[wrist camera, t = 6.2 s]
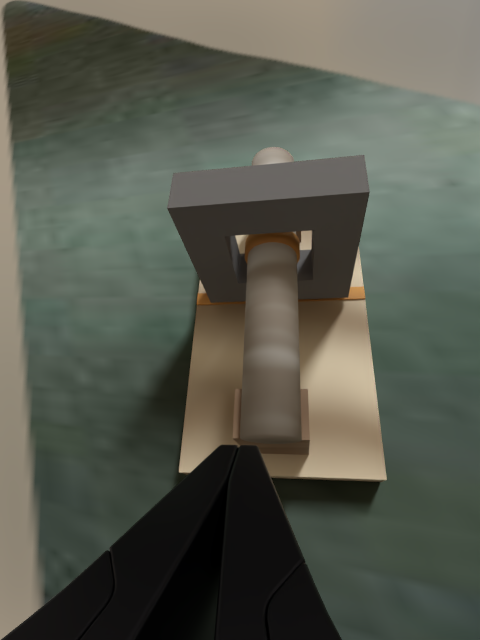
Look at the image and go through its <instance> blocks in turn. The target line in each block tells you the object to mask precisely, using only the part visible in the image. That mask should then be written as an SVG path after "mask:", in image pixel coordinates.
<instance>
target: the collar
mask: <svg viewBox="0 0 480 640" xmlns="http://www.w3.org/2000/svg"><path fill="white" fill-rule="evenodd" d="M369 192H370V191H369V185H368V178H367V171H366V164H365V158H364V155H359V156H348V157H338V158H327V159H317V160H306V161H296V162H286V163H275V164H265V165H254V166H244V167H233V168H223V169H212V170H202V171H192V172H181V173H173V178H172V184H171V190H170V195H169V201H168V207H167V209H168V211H169V213H170V215H171V217H172V219H173V222H174V224H175V226H176V228H177V230H178V232H179V235H180V237H181V239H182V241H183V243H184V246H185V248H186V250H187V252H188V254H189V256H190V259H191V261H192V263H193V265H194V267H195V269H196V272H197V274H198V276H199V278H200V280H201V283H202V285H203V287H204V289H205V291H206V293H207V296H208V298H209V300H210V302H211V303H216V302H243V301H246V284H247V263H246V261H245V253H242V254H240V252H239V248H238V244H237V240H236V235H251V234H266V233H281V232H296V231H311V230H312V245H311V250H300V259H299V261H298V263H297V282H298V299H323V298H348V296H349V291H350V286H351V281H352V276H353V271H354V266H355V261H356V256H357V251H358V247H359V242H360V237H361V232H362V227H363V222H364V217H365V212H366V207H367V202H368V197H369Z"/></svg>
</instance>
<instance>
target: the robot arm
mask: <svg viewBox="0 0 480 640" xmlns="http://www.w3.org/2000/svg"><path fill="white" fill-rule="evenodd" d="M109 550H110V552H109V551H108V550H107V551H105V552H104V553H103V554H102V555H101V556H100V557H99V558H98V559H97V560H95V561H94V562H93V563H92V564H91V565H90V566H89V567H88V568H87V569H86V570H84V571H83V572H82V573H81V574H80V575H79V576H78V577H77V578H75V579H74V580H73V581H72V582H71V583H70V584H69V585H68V586H66V587H65V588H64V589H63V590H62V591H61V592H59V593H58V594H57V595H56V596H55V597H53V598H52V599H51V600H50V601H48V602H47V603H46V604H45V605H44V606H42V607H41V608H40V609H39V610H38V611H36V612H35V613H34V614H33V615H31V616H30V617H29V618H28V619H27V620H25V621H24V622H23V623H21V624H20V625H19V626H18V627H16V628H15V629H14V630H13V631H11V632H10V633H9V634H8V635H6V636H5V637H4V638H3V639H1V640H342V639H341V637H340V635H339V633H338V631H337V629H336V628H335V626H334V624H333V622H332V620H331V618H330V616H329V614H328V612H327V610H326V608H325V605H324V603H323V601H322V599H321V597H320V594H319V592H318V590H317V588H316V586H315V583H314V581H313V578H312V576H311V574H310V571H309V569H308V566H307V565H306V564H305V560H304V557H303V555H302V552H301V550H300V547H299V545H298V542H297V540H296V538H295V535H294V533H293V530H292V528H291V525H290V523H289V520H288V518H287V516H286V513H285V511H284V508H283V506H282V503H281V501H280V498H279V496H278V494H277V491H276V489H275V486H274V484H273V481H272V479H271V477H270V474H269V472H268V469H267V467H266V464H265V462H264V459H263V457H262V455H261V452H260V450H259V447H258V446H257V445H241V446H239V447H238V445H226V444H222V445H220V446H218V447H217V448H216V449H215V450H214V451H213V452H212V453H211V454H210V455H209V456H208V457H207V458H205V459H204V460H203V461H202V462H201V463H200V464H199V465H198V466H197V467H196V468H195V469H194V470H193V471H191V472H190V473H189V474H188V475H187V476H186V477H185V478H184V479H183V480H182V481H181V482H180V483H179V484H177V485H176V486H175V487H174V488H173V489H172V490H171V491H170V492H169V493H168V494H167V495H166V496H165V497H163V498H162V499H161V500H160V501H159V502H158V503H157V504H156V505H155V506H154V507H153V508H152V509H151V510H149V511H148V512H147V513H146V514H145V515H144V516H143V517H142V518H141V519H140V520H139V521H138V522H137V523H135V524H134V525H133V526H132V527H131V528H130V529H129V530H128V531H127V532H126V533H125V534H124V535H123V536H121V537H120V538H119V539H118V540H117V541H116V542H115V543H114V544H113V545H112V546H111V547H110V549H109Z"/></svg>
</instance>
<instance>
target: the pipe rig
mask: <svg viewBox="0 0 480 640" xmlns="http://www.w3.org/2000/svg"><path fill="white" fill-rule="evenodd" d="M286 162H294V159H293V157H292V155H291V154H290V153H289V152H288V151H286V150H284V149H282V148H278V147H269V148H265V149H263V150H261V151H259V152H258V153H257V154H256V155H255V156H254V158H253V160H252V166H254V165H265V164H275V163H286ZM236 240H237V244H238V248H239V252H240V254H242V253H245V261H246V263H247V284H246V301H243V302H216V303H211V302H210V300H209V298H208V296H207V293H206V291H205V289H204V287H203V285H202V283H201V280H200V283H199V292H198V297H197V310H196V319H195V328H194V337H193V346H192V356H191V365H190V374H189V383H188V392H187V401H186V410H185V419H184V428H183V437H182V447H181V456H180V465H179V472H180V473H183V474H187V475H188V474H189V473H190V472H191V471H193V470H194V469H195V468H196V467H197V466H198V465H199V464H200V463H201V462H202V461H203V460H204V459H205V458H207V457H208V456H209V455H210V454H211V453H212V452H213V451H214V450H215V449H216V448H217V447H218V446H220V445H222V444H226V445H238V447H239V446H241V445H257V446H258V447H259V450H260V452H261V455H262V457H263V459H264V462H265V464H266V467H267V469H268V472H269V474H270V477H271V478H290V479H316V480H342V481H368V482H382V481H385V480H387V478H386V470H385V462H384V453H383V445H382V437H381V428H380V420H379V412H378V403H377V395H376V387H375V378H374V370H373V362H372V353H371V345H370V337H369V328H368V320H367V312H366V303H365V292H364V286H363V278H362V270H361V262H360V253H359V247H358V251H357V256H356V261H355V266H354V271H353V276H352V281H351V286H350V291H349V296H348V298H323V299H298V282H297V263H298V261H299V259H300V250H311V245H312V230H311V231H296V232H281V233H266V234H251V235H236Z"/></svg>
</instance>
